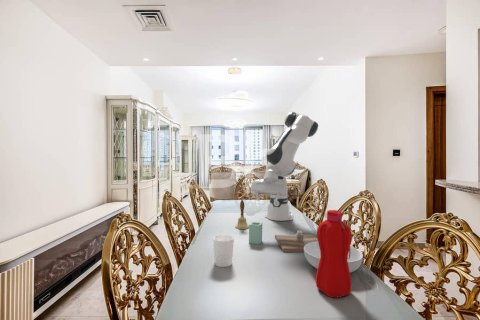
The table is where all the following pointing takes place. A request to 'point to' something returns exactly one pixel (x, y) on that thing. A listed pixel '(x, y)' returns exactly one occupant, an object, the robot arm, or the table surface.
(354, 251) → the serving bowl
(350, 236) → the water bottle
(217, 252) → the white cup
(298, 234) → the post
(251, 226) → the sleeve
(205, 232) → the table surface
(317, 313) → the table surface
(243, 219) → the hand bell
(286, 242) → the board
